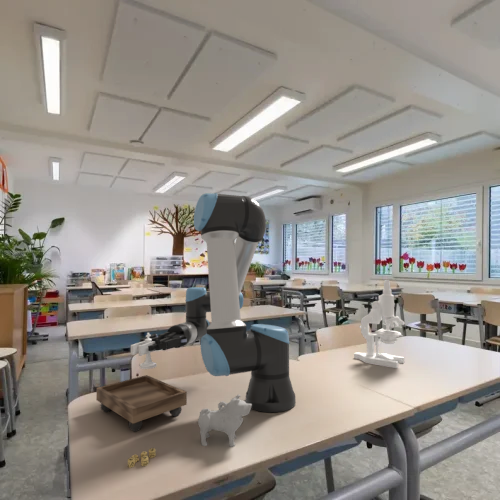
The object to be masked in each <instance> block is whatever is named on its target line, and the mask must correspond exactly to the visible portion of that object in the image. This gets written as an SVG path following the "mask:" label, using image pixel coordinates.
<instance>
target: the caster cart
mask: <svg viewBox="0 0 500 500" xmlns="http://www.w3.org/2000/svg"><path fill="white" fill-rule="evenodd" d="M187 394H188V393H187V391H185V390H183V389H180V388H178V387H176V386H173V385H171V384H169V383H167V382H165V381H162V380H159V379H157V378H154V377H152V376H150V375H148V374H147V375H146V374H145V375H143V376H139V377H134V378H129V379H126V380H122V381H118V382H114V383H111V384H107V385H106V384H105V385H103V386H99V387H96V401H97V402H99V403H101V404H100V409H101V410H102V411H103V412H105V413H108V412H111V411H113V412H114V413H116V414H117V415H119V416H121V418H123V419H125V420H126V421H127V422H128V428H129V429H130V430H131V431H133V432H137V431H139V430H141V428H142V426H143V421H144V420H147V419H150V418H153V417H156V416H158V415H159V416H160V415H161V414H165V413H166V412H169V414H170V415H171V416H173V417H178V416H179V415H180V414H181V412H182V407H184V406H187V405H188V403H187V399H188V398H187V396H188V395H187Z"/></svg>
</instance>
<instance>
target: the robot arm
mask: <svg viewBox="0 0 500 500" xmlns="http://www.w3.org/2000/svg"><path fill="white" fill-rule="evenodd" d="M266 224H267V220H266V215H265V211H264V209H263V208H262V206H261V205H260V203H259V202H258V201H257V200H256V199H254V198H253V197H251V196H247V195H235V194H226V193H224V194H223V193H217V192H214V193H211V192H210V193H206V192H205V193H203V194H202V195H200V196H199V198H198V200H197V202H196V205H195V209H194V214H193V226H194V229H195V231H197V232H200V235H201V239H202V240H203V242H205V243H206V253H207V254H206V255H207V257H206V258H207V268H208V269H207V272H208V284H209V285H208V286H209V291H207V289H206V287H202V286H201V287H200V286H199V287H198V286H197V287H187V288H186V291H185V299H184V300H185V322H182V323H178V324H174V325H172V326H170V327H169V328H168V329H167V331H165V332H163V333H160V334H157V333H155V332H154V333H152V334H151V336H149V338H150V339H152V341H151V342H149V343H146V342H145V339H147V337H146V336H145V337H143V338H140V340H139V342H136V343H134V344H130V355H132V356H134V355H137V354H138V357H139V356H140V357H141V356H144V355H146V354H147V353H150V354H151V353H152V352H154V351H160V350H162V351H167V350H170V349H174V348H175V349H179V348H182V347H184V346H185V347H187V346H188V345H189V344H191V343H194V342H196V341H200V353H201V354H200V355H201V358H202V361H203V364H204V367H205V368H206V370H207V372H208V373H209V374H210V375H211V376H212V377H213V376H214V377H223V376H225V377H228V376H229V375H235V374H237V375H238V374H242V373H249V372H251V373H250V380H249V383H248V387H247V391H246V393H245V402H246V403H248V404H252V406H251V410H254V411H258V412H262V413H280V412H281V413H282V412H285V411H288V410H292V409H293V408H294V407H295V406H296V394H295V392H294V387H293V385H292V381H291V377H290V343H291V342H290V337H289V332H288V330H287V329H286V328H284V327H281V326H277V325H273V324H272V325H271V324H263V323H258V324H257V323H254V324H251V325H250V329H249V330H247V324H246V323H245V322H244V321H243V320H242V319H241V309H242V308H243V306H244V301H245V299H244V295H243V293H242V289H243V287H244V283H245V280H246V277H247V275H248V272H249V270H250V267H251V264H252V261H253V258H254V256H255V253H256V250H257V247H258V244H259V243H261V242H262V241H263V239H264V236H265V233H266V228H267V225H266ZM207 313H210V319H211V322H210V321H209V320H208V319H207Z"/></svg>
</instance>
